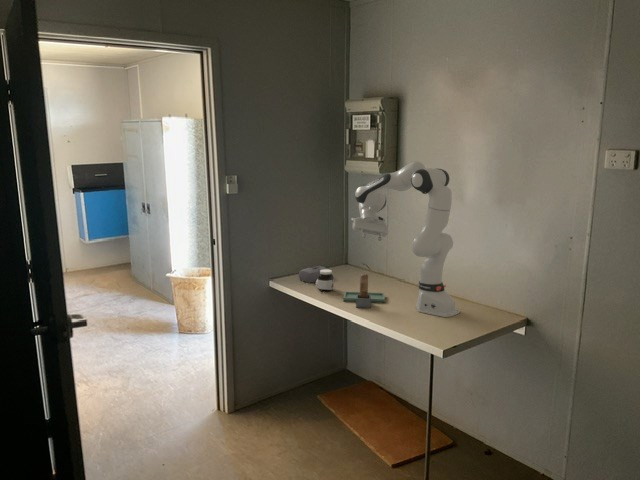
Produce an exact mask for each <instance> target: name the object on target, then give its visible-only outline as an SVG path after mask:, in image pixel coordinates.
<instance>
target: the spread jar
mask: <svg viewBox="0 0 640 480" xmlns="http://www.w3.org/2000/svg"><path fill="white" fill-rule="evenodd" d="M315 285H316V287H317V289H318V290H319V291H320V292H322V293H323V292H324V293H329V292H332V291H333V289H334V288H335V276H334V274H333V271H332V269H328V268H327V269H323V270H320V275H319V277H318V279H317V280H316V282H315Z"/></svg>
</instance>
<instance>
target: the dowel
mask: <svg viewBox="0 0 640 480" xmlns="http://www.w3.org/2000/svg"><path fill="white" fill-rule="evenodd" d="M359 278H360V279H359V292H360V298H368V292H369V290H368V289H369V274H367V273H362V274H360V277H359Z"/></svg>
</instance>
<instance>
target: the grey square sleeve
mask: <svg viewBox="0 0 640 480" xmlns="http://www.w3.org/2000/svg"><path fill="white" fill-rule="evenodd" d="M371 307H372V303H371V295H368V298H360V294H357V296H356V302H355V308H356V309H372V308H371Z"/></svg>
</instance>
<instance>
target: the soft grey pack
mask: <svg viewBox="0 0 640 480" xmlns="http://www.w3.org/2000/svg"><path fill="white" fill-rule="evenodd" d="M323 269H328V268H327V267H326V266H318V265H314V266H313V265H312V266H308V267H307V268H303V269H301V270H299V271H298V278H299V280H300V281H302V282H304V283H310V284H311V283H316V280H317V279H318V277H319V275H320V270H323Z"/></svg>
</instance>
